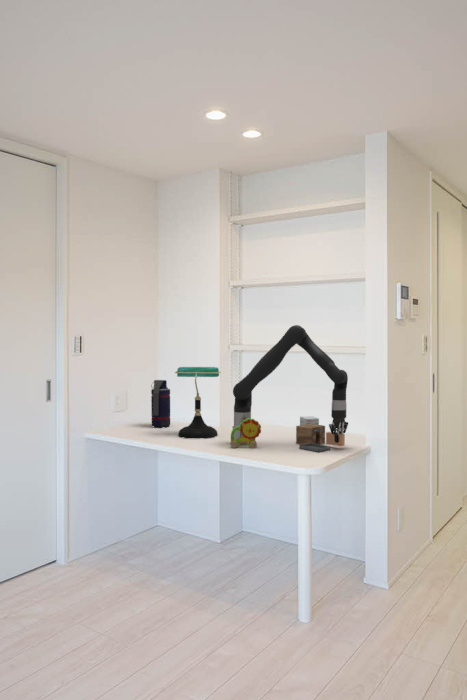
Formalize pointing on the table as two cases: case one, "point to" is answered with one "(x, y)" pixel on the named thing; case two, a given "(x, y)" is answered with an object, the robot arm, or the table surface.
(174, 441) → the table surface
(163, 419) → the grenade
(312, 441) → the cardboard shipping carton
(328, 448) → the tray
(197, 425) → the banker's lamp
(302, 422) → the ink box
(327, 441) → the tan rectangular block
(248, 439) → the toy lion
